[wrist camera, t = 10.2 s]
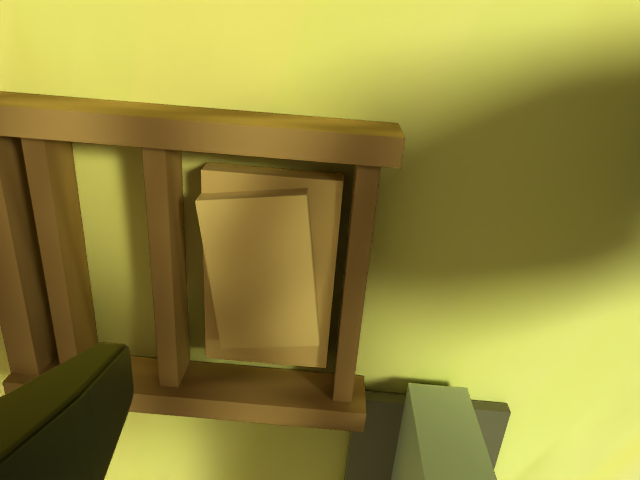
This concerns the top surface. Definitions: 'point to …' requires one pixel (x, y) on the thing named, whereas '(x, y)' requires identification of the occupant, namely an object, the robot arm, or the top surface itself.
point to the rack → (169, 249)
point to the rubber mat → (384, 426)
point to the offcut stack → (268, 262)
